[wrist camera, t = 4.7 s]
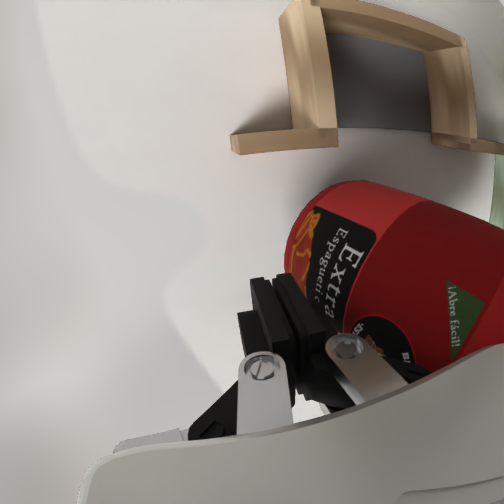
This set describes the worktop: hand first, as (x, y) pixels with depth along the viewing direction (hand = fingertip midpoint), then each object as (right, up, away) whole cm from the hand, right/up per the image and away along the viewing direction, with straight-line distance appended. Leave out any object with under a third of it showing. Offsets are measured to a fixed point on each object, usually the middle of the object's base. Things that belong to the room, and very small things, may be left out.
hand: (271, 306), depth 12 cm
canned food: (+4, +3, +4) cm, 6 cm away
